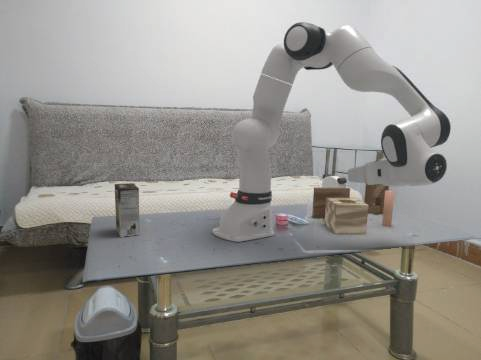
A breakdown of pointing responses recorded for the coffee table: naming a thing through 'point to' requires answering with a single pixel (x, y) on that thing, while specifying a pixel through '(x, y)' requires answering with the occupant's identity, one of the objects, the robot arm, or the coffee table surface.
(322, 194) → the jig
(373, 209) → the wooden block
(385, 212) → the dowel
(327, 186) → the panda figurine
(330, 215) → the socket block
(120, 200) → the coffee box
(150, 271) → the coffee table surface
